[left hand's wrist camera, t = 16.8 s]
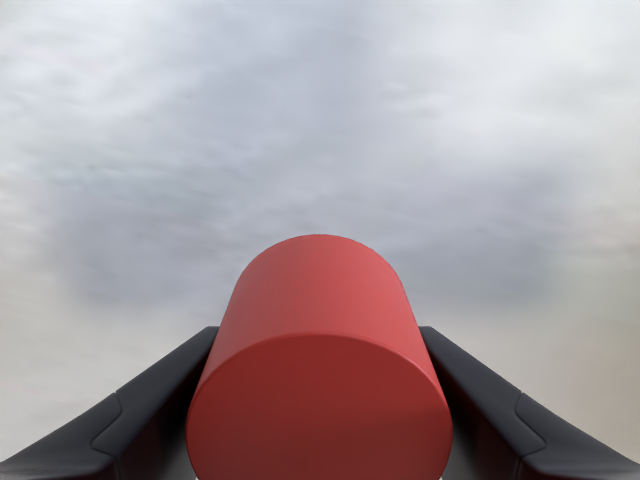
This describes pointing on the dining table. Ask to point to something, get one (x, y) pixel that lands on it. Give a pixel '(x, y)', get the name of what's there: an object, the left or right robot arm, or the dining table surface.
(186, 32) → the dining table surface
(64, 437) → the left robot arm
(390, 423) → the can
